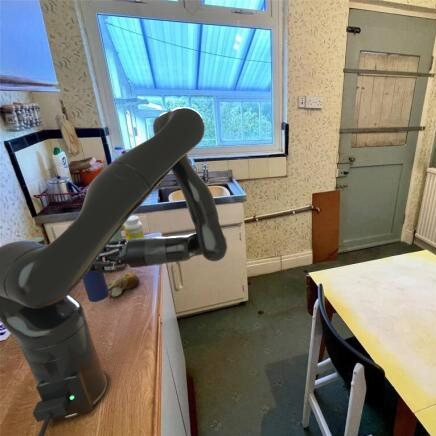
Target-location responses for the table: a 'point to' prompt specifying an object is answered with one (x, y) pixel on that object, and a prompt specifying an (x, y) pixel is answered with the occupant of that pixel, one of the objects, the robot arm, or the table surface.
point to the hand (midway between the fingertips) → (75, 258)
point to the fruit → (124, 283)
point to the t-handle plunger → (95, 286)
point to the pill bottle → (133, 228)
